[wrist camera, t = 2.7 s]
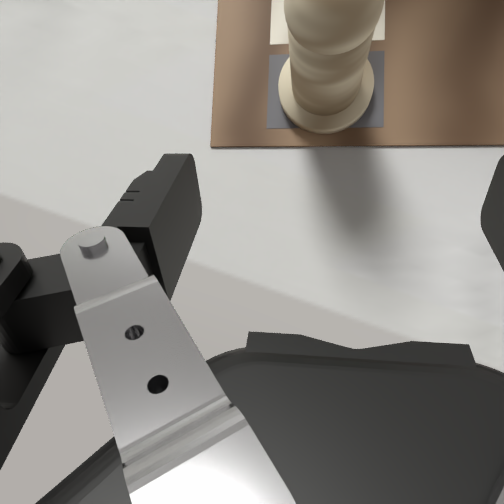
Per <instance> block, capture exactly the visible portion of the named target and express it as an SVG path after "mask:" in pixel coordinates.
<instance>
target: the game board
mask: <svg viewBox="0 0 504 504" xmlns="http://www.w3.org/2000/svg"><path fill="white" fill-rule="evenodd" d="M289 57H290V55H289V41H288V27H287V23H286V19H285V13H284V0H218V13H217V32H216V50H215V69H214V88H213V106H212V125H211V144H210V146H211V147H312V146H476V145H504V0H384V5H383V9H382V13H381V16H380V18H379V21H378V23H377V25H376V27H375V31H374V35H373V38H372V42H371V46H370V50H369V54H368V58H367V59H368V60H369V62H370V64H371V67H372V70H373V74H374V89H373V93H372V97H371V100H370V102H369V105H368V107H367V109H366V111H365V112H364V114H363V115H362V116H361V118H360V119H359V120H358V121H357V122H355V123H354V124H353V125H351V126H350V127H348V128H346V129H344V130H342V131H339V132H336V133H331V134H315V133H311V132H308V131H305V130H303V129H301V128H299V127H298V126H296V125H295V124H294V123H292V122H291V121H290V120H289V118H288V117H287V116H286V114H285V113H284V111H283V109H282V106H281V103H280V97H279V90H278V83H279V77H280V73H281V70H282V68H283V66H284V64H285V62H286V61H287V59H288V58H289Z"/></svg>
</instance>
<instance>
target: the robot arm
mask: <svg viewBox="0 0 504 504" xmlns="http://www.w3.org/2000/svg"><path fill="white" fill-rule="evenodd" d="M201 216H202V204H201V197H200V191H199V185H198V179H197V173H196V167H195V161H194V158H193V156H192V154H164V155H163V156H162V158H161V159H160V161H159V162H158V164H157V165H156V167H155V169H154V170H153V171H146V172H145V173H143V174H142V175H140V176H139V177H137V178H136V179H134V180H133V182H132V183H131V184H130V186H129V187H128V189H127V190H126V193H124V194H123V196H122V197H121V199H120V201H119V202H118V203H117V204H116V206H115V207H114V209H113V210H112V212H111V213H110V214H109V216H108V217H107V219H106V220H105V222H104V223H103V224H102V226H100V227H93V228H89V229H86V230H83V231H81V232H79V233H77V234H75V235H73V236H72V237H71V238H69V239H68V240H67V241H66V242H65V243H64V244H63V246H62V248H61V250H60V254H56V255H51V256H45V257H40V258H34V259H28V260H27V258H26V257H25V255H24V253H23V251H22V249H21V248H20V247H19V246H18V245H16V244H13V243H0V469H1V468H2V466H3V464H4V462H5V460H6V458H7V456H8V454H9V452H10V450H11V448H12V446H13V444H14V443H15V441H16V439H17V437H18V435H19V433H20V431H21V429H22V427H23V425H24V423H25V421H26V419H27V417H28V416H29V414H30V412H31V409H32V408H33V406H34V404H35V402H36V400H37V398H38V396H39V394H40V392H41V390H42V389H43V387H44V384H45V383H46V381H47V379H48V377H49V375H50V373H51V371H52V369H53V367H54V365H55V363H56V361H57V360H58V358H59V355H60V354H61V352H62V350H63V348H64V346H65V344H70V343H75V342H80V341H84V342H85V345H86V348H87V352H88V354H89V358H90V361H91V364H92V367H93V370H94V374H95V377H96V380H97V383H98V386H99V389H100V393H101V396H102V399H103V402H104V405H105V408H106V411H107V414H108V418H109V421H110V424H111V427H112V430H113V434H114V437H113V438H112V439H110V440H109V441H108V442H107V443H106V444H105V445H103V446H102V447H101V448H100V449H99V450H98V451H96V452H95V453H94V454H93V455H92V456H91V457H89V458H88V459H87V460H86V461H85V462H83V463H82V464H81V465H80V466H79V467H78V468H77V469H75V470H74V471H73V472H72V473H71V474H69V475H68V476H67V477H66V478H65V479H64V480H62V481H61V482H60V483H59V484H58V485H57V486H55V487H54V488H53V489H52V490H51V491H50V492H48V493H47V494H46V495H45V496H44V497H43V498H41V499H40V500H39V501H38V502H37V503H36V504H504V373H502V372H500V371H498V370H495V369H493V368H490V367H487V366H484V365H481V364H478V363H475V360H474V357H473V354H472V352H471V349H470V346H469V345H467V344H450V343H433V342H417V341H410V342H404V343H397V344H392V345H384V346H378V347H371V348H365V349H352V348H347V347H343V346H339V345H336V344H333V343H329V342H325V341H322V340H318V339H314V338H311V337H306V336H303V335H298V334H281V333H264V332H249V333H248V339H247V345H246V347H245V348H239V349H235V350H231V351H228V352H225V353H222V354H220V355H217V356H215V357H213V358H211V359H209V360H207V361H205V359H204V358H203V356H202V354H201V353H200V351H199V349H198V347H197V346H196V344H195V343H194V341H193V339H192V337H191V336H190V334H189V332H188V331H187V329H186V327H185V326H184V324H183V322H182V321H181V319H180V317H179V315H178V314H177V312H176V310H175V309H174V307H173V306H172V304H171V302H170V300H171V298H172V295H173V292H174V290H175V287H176V285H177V282H178V279H179V277H180V274H181V272H182V269H183V266H184V264H185V261H186V259H187V256H188V254H189V251H190V248H191V246H192V243H193V241H194V238H195V235H196V233H197V230H198V228H199V225H200V222H201ZM481 227H482V230H483V232H484V234H485V236H486V238H487V240H488V242H489V244H490V246H491V248H492V250H493V252H494V254H495V255H496V257H497V259H498V261H499V263H500V265H501V267H502V269H503V271H504V155H503V156H502V157H501V158H500V160H499V162H498V164H497V167H496V170H495V172H494V175H493V178H492V181H491V184H490V187H489V189H488V192H487V195H486V198H485V201H484V204H483V207H482V210H481Z"/></svg>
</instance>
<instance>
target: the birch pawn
mask: <svg viewBox="0 0 504 504" xmlns="http://www.w3.org/2000/svg"><path fill="white" fill-rule="evenodd" d="M383 5H384V0H284V13H285V19H286V23H287V27H288V41H289V55H290V57H289V58H288V59H287V61H286V62H285V64H284V66H283V68H282V70H281V73H280V77H279V83H278V90H279V97H280V103H281V106H282V109H283V111H284V113H285V114H286V116H287V117H288V118H289V120H290V121H291V122H292V123H294V124H295V125H296V126H298V127H299V128H301V129H303V130H305V131H308V132H311V133H315V134H331V133H336V132H339V131H342V130H344V129H346V128H348V127H350V126H351V125H353V124H354V123H355V122H357V121H358V120H359V119H360V118H361V116H362V115H363V114H364V112H365V111H366V109H367V107H368V105H369V102H370V100H371V97H372V93H373V89H374V74H373V70H372V67H371V64H370V62H369V60H368V59H367V58H368V54H369V50H370V46H371V42H372V38H373V35H374V31H375V27H376V25H377V23H378V21H379V18H380V16H381V13H382V9H383Z"/></svg>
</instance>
